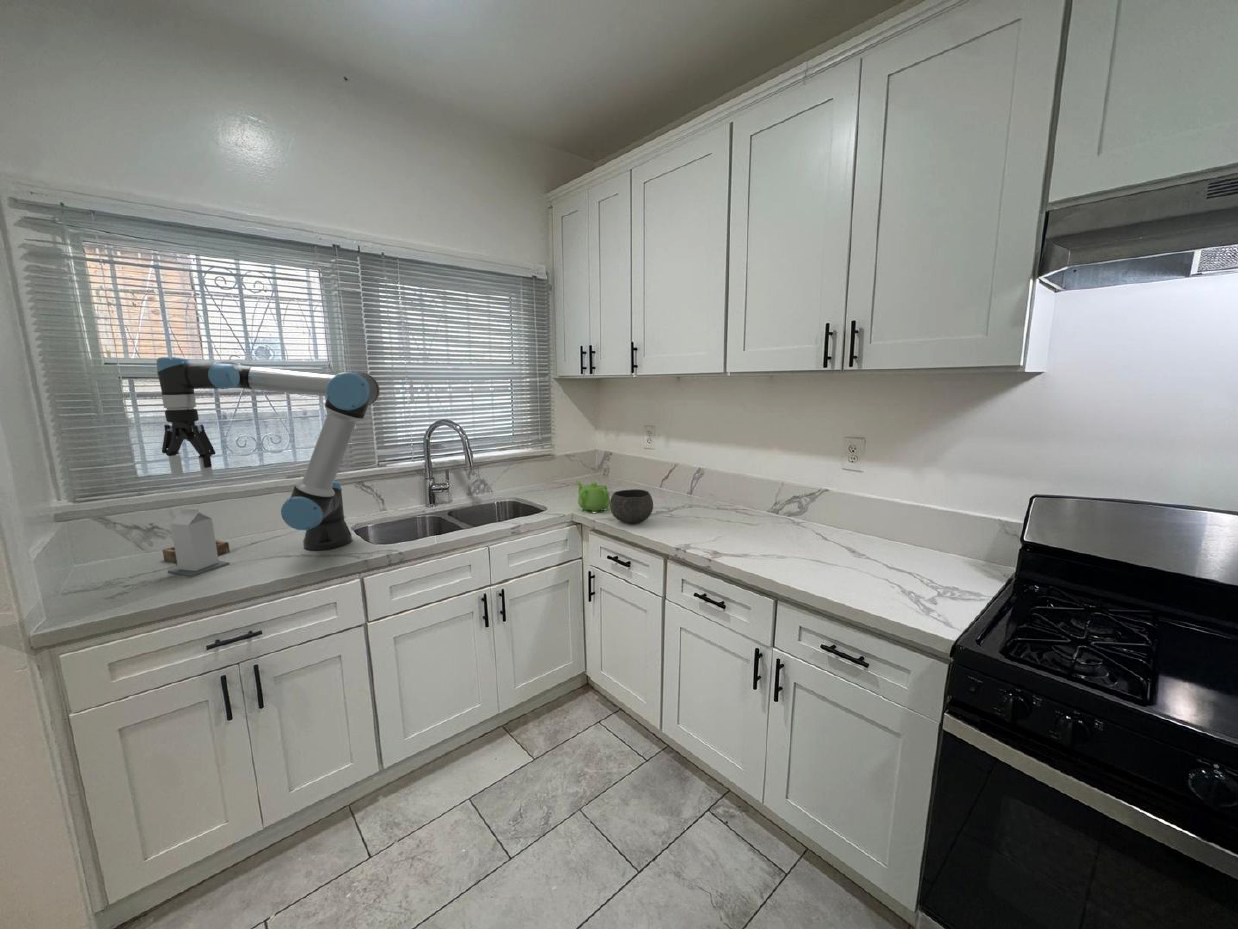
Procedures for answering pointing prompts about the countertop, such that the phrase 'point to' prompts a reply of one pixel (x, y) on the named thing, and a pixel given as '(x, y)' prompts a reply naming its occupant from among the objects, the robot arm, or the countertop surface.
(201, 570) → the slate mat
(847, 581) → the countertop surface
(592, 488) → the teapot
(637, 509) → the bowl
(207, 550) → the milk carton
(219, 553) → the ring frame
